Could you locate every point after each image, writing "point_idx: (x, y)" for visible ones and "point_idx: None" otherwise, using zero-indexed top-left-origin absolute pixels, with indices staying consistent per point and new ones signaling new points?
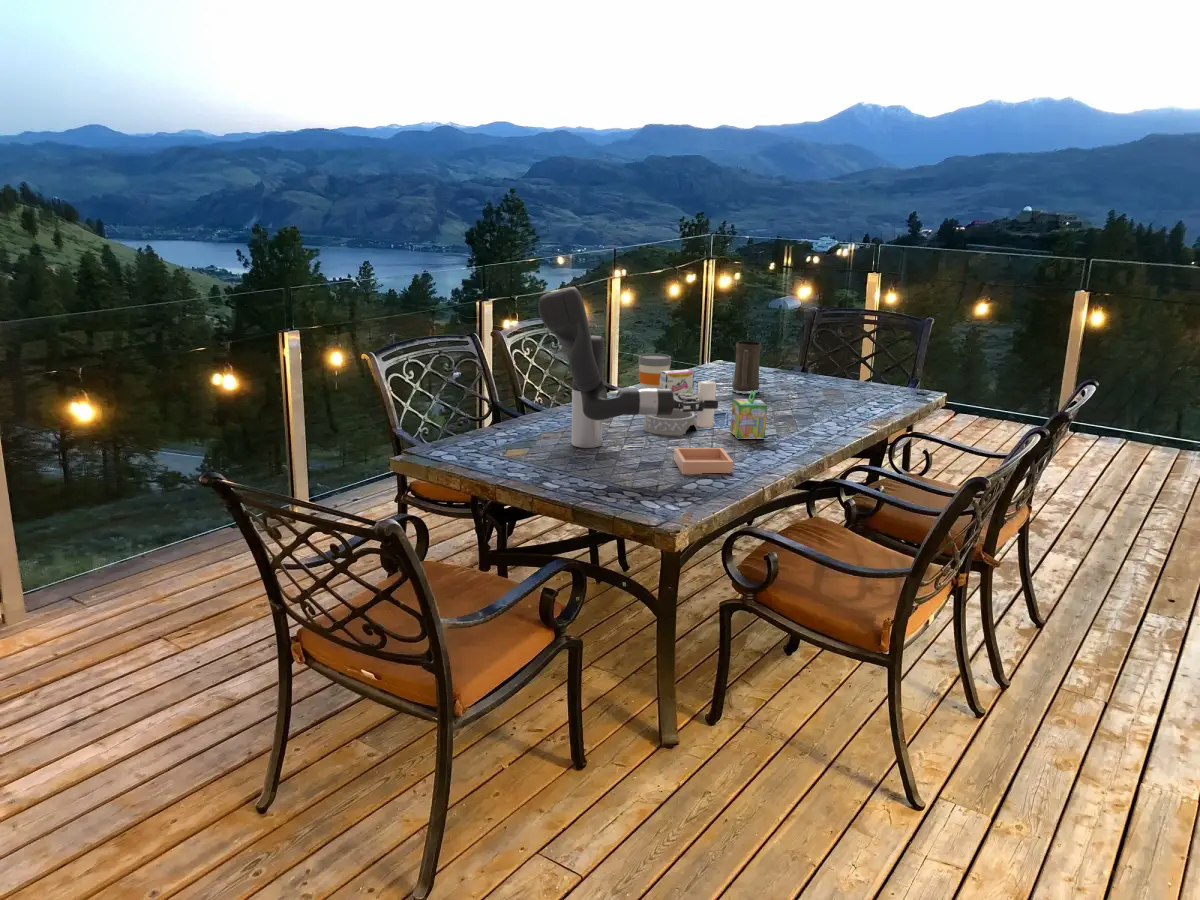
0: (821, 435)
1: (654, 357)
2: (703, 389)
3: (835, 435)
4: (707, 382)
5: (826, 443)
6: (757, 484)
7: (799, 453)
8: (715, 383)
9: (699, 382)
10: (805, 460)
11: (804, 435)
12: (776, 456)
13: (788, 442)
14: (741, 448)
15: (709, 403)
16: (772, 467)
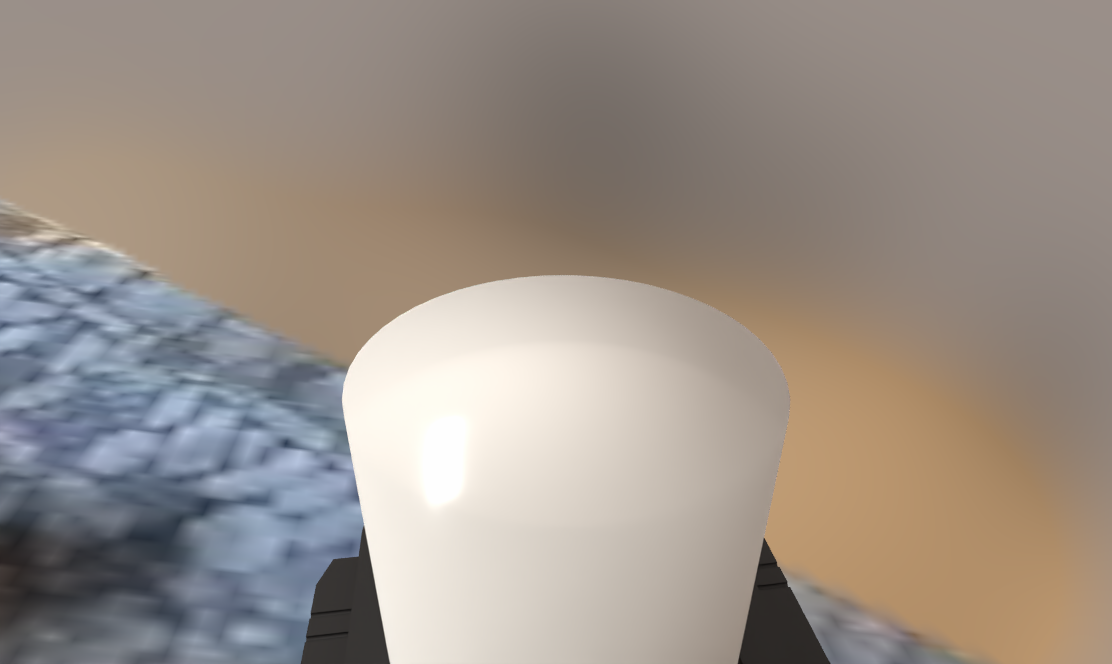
0: (53, 338)
1: None
2: (760, 538)
3: (81, 310)
4: (536, 363)
5: (176, 341)
6: (871, 652)
7: (292, 425)
8: (616, 281)
9: (577, 503)
10: None
11: (15, 378)
12: (321, 507)
13: (92, 437)
14: (88, 659)
15: (797, 617)
16: None
